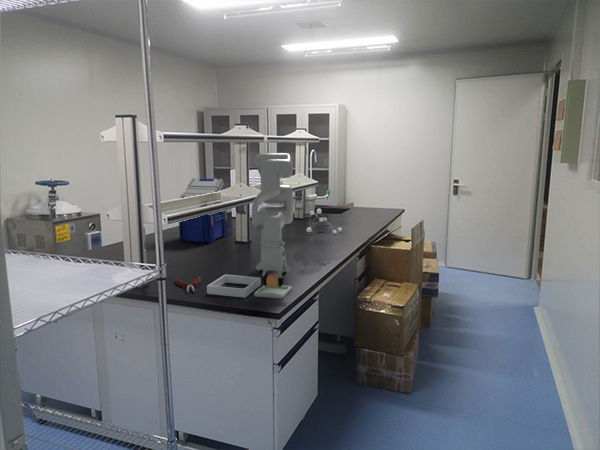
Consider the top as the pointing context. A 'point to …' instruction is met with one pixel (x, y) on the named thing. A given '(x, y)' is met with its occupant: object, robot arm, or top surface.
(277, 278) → the ball
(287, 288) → the tray
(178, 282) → the pliers
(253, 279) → the grey square frame
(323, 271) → the top surface
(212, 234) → the storage box
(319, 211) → the molecule model
